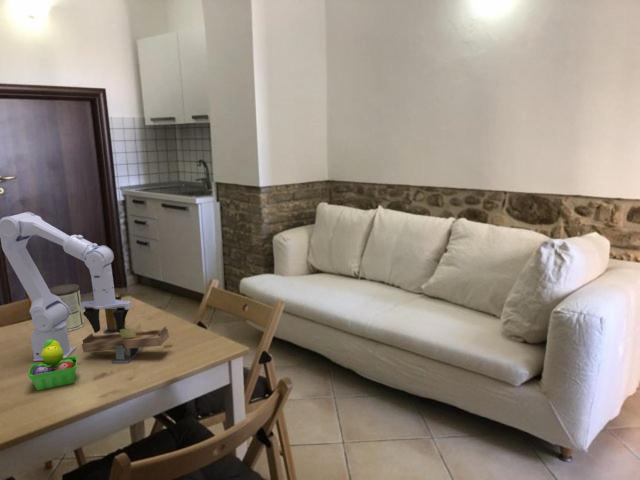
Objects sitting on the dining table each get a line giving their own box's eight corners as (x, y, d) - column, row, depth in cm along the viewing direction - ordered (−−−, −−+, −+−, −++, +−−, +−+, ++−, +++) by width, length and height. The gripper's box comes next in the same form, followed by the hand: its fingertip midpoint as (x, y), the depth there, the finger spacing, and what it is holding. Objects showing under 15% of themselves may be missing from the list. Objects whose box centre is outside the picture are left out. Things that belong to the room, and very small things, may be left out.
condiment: (129, 324, 176) (125, 291, 173) (125, 333, 168) (121, 299, 165) (107, 326, 175) (102, 293, 172) (102, 335, 166) (97, 301, 164)
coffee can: (46, 328, 175) (40, 289, 172) (75, 319, 183) (69, 282, 180) (61, 334, 169) (55, 294, 166) (90, 324, 177) (85, 286, 174)
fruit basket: (30, 394, 130) (23, 353, 127) (34, 379, 138) (28, 341, 135) (79, 384, 134) (73, 345, 132) (80, 370, 142) (74, 333, 140)
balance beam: (83, 354, 148) (80, 341, 147) (95, 345, 155) (92, 332, 154) (160, 347, 145) (158, 334, 145) (169, 338, 152) (167, 325, 151)
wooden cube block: (122, 342, 148) (119, 329, 147) (128, 336, 152) (125, 324, 151) (136, 341, 147) (134, 328, 146) (142, 335, 151) (140, 323, 150)
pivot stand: (111, 363, 146) (109, 346, 145) (128, 348, 156) (126, 332, 155) (128, 363, 145) (126, 346, 144) (143, 348, 156) (141, 332, 154)
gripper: (72, 292, 143) (78, 336, 146) (120, 292, 142) (126, 337, 145) (85, 285, 150) (91, 327, 153) (131, 284, 149) (137, 327, 152)
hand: (109, 331), depth 150 cm, fingers open, 7 cm apart
